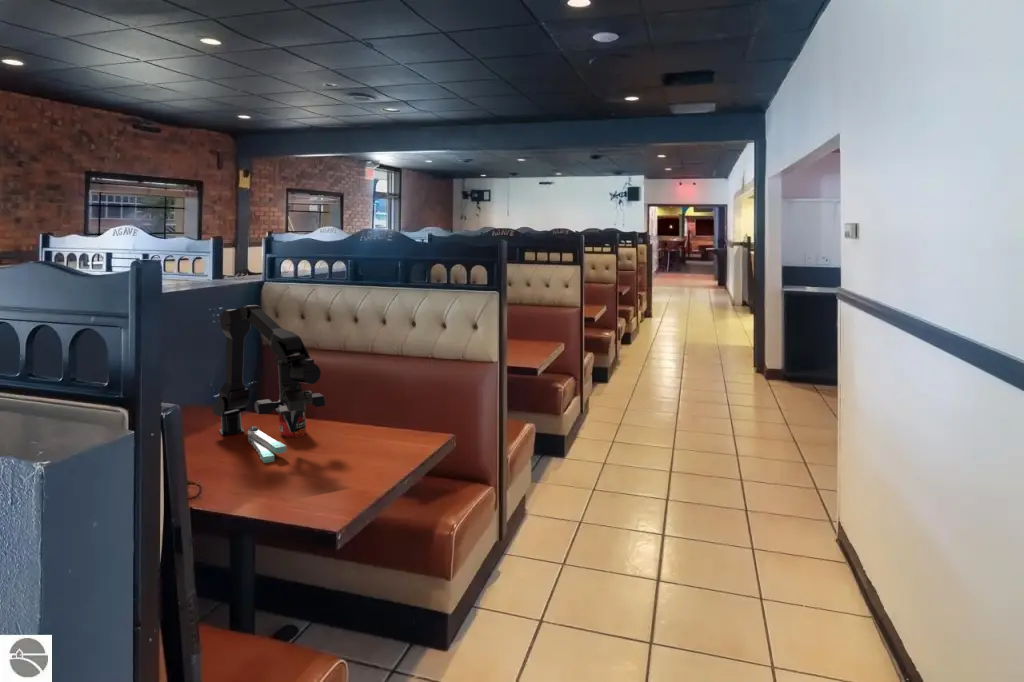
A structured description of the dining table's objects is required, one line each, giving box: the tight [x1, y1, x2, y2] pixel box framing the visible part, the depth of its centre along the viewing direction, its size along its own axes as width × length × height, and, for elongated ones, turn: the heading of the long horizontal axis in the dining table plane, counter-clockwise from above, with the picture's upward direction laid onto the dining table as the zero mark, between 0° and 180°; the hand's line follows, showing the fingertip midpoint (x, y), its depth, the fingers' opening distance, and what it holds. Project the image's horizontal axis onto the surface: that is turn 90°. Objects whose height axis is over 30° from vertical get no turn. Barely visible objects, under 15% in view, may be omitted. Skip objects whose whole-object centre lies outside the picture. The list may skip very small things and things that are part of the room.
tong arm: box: [247, 425, 287, 455], centre depth 186 cm, size 23×3×2 cm, turn 42°
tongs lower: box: [247, 436, 276, 464], centre depth 185 cm, size 23×3×2 cm, turn 33°
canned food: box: [278, 399, 307, 438], centre depth 200 cm, size 8×8×11 cm
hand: (292, 432), depth 185 cm, fingers closed
